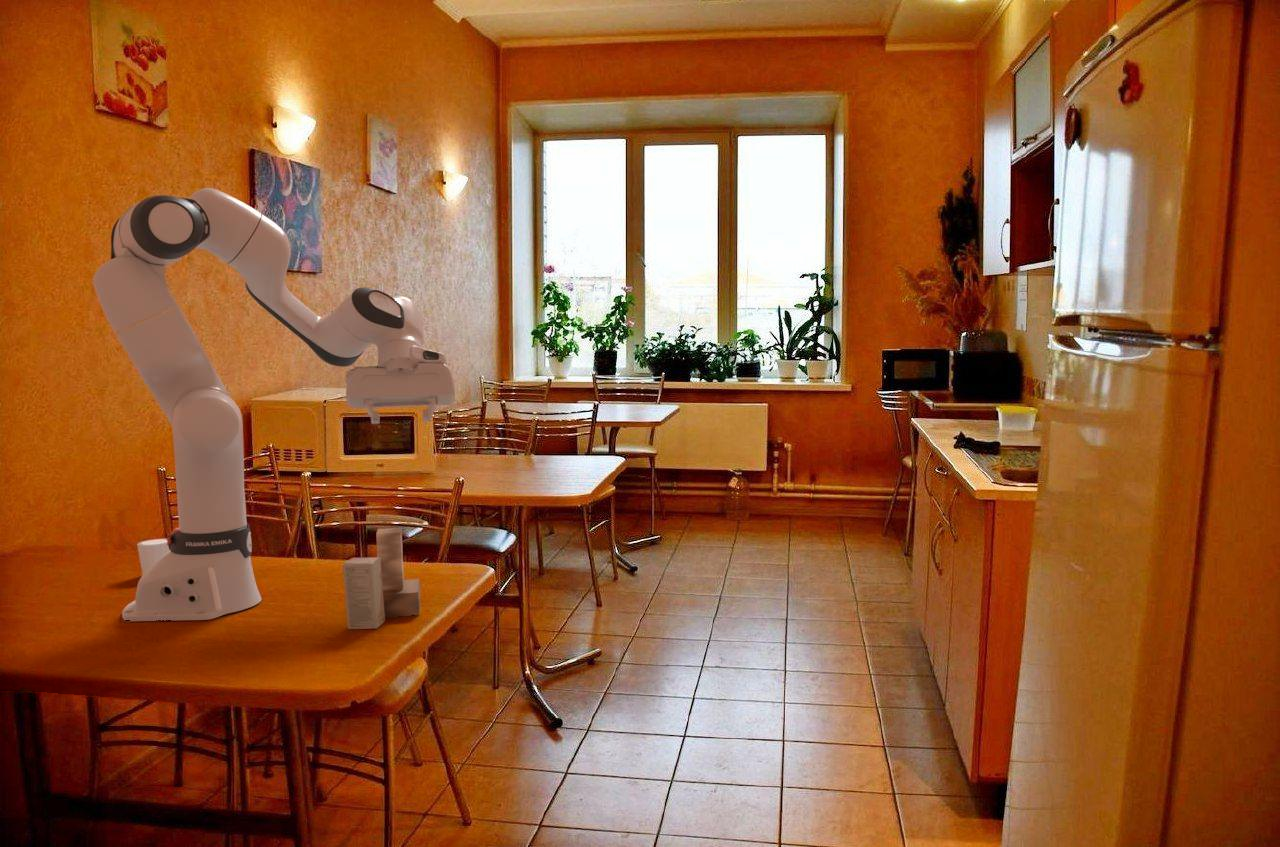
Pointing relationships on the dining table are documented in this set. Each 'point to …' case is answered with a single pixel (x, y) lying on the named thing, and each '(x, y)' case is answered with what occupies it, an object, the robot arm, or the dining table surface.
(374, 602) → the box
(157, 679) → the dining table surface
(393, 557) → the oak post
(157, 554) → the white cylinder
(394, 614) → the light tan slab
